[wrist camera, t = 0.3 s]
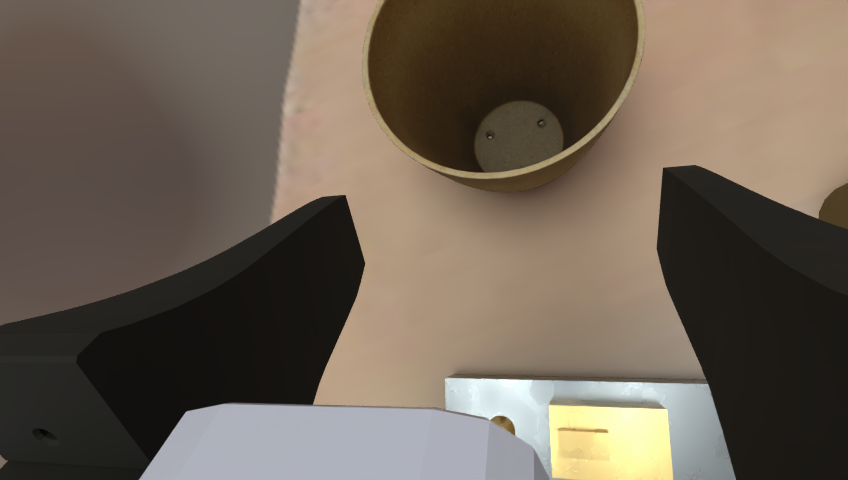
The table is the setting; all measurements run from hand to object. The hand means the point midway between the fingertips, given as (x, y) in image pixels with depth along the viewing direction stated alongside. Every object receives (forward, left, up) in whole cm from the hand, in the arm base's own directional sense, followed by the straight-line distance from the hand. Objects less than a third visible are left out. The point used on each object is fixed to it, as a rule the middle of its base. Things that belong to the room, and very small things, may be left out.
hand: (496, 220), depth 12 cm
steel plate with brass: (-10, -2, -29) cm, 30 cm away
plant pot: (+12, +2, -29) cm, 31 cm away
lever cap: (-10, -3, -26) cm, 27 cm away
